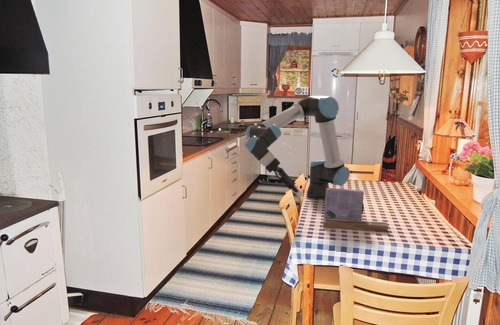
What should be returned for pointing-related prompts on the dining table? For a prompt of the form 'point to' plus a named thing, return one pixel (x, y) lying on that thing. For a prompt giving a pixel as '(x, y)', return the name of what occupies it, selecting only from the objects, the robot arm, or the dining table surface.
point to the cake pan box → (344, 204)
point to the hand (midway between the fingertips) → (301, 196)
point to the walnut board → (355, 225)
